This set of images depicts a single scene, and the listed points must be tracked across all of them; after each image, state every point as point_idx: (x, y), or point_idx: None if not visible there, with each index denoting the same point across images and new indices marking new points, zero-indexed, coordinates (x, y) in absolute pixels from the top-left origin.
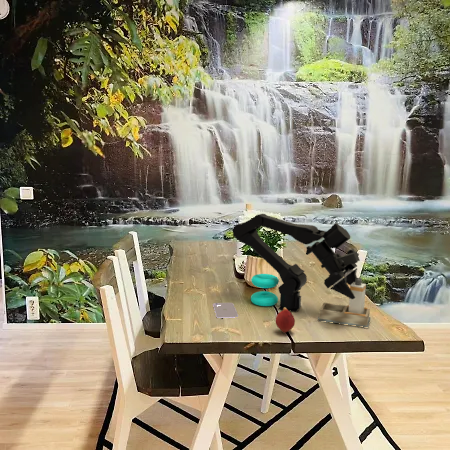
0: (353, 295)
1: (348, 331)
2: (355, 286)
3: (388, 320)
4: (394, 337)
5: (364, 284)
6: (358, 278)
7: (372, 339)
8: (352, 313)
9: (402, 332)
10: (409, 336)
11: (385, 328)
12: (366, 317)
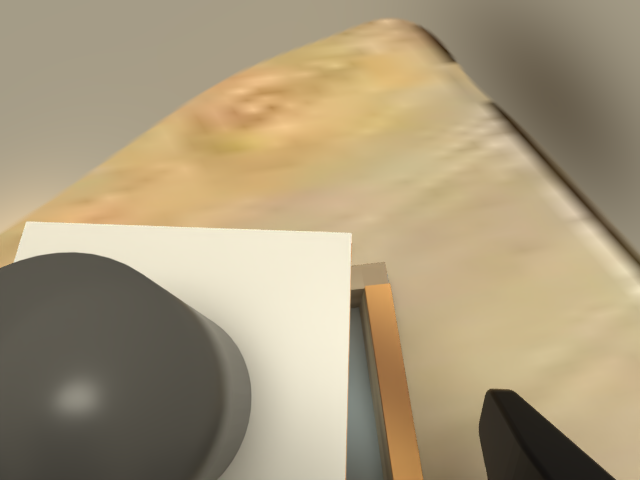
0: (542, 418)
1: (533, 405)
2: (343, 443)
3: (131, 186)
4: (431, 109)
5: (77, 245)
6: (14, 411)
7: (560, 214)
8: (407, 416)
9: (317, 84)
10: (361, 47)
11: (303, 178)
12: (384, 274)
